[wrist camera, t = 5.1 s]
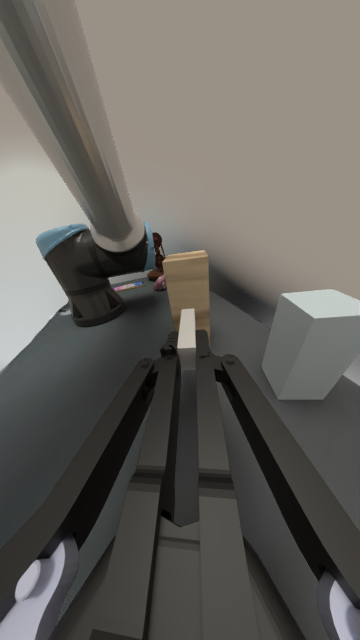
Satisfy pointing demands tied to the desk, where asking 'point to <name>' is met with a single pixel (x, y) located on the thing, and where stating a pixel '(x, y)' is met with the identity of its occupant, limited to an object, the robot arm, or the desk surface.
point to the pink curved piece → (160, 283)
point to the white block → (311, 343)
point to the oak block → (188, 287)
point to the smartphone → (129, 286)
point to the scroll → (157, 258)
